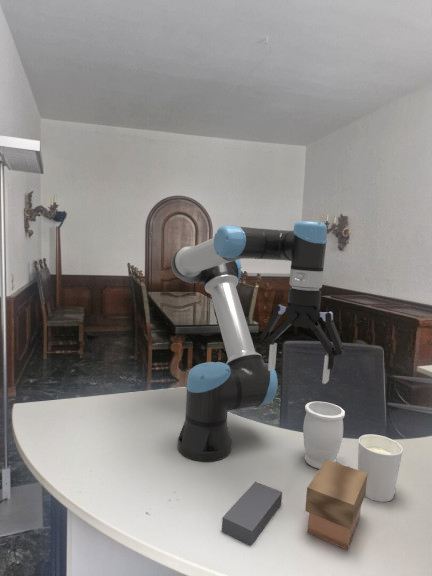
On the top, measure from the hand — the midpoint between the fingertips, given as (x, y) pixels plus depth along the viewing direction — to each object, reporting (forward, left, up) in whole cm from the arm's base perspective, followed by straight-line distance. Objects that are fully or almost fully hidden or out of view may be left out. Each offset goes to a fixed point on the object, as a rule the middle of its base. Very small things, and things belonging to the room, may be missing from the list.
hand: (297, 375), depth 96 cm
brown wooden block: (+14, -10, -22) cm, 28 cm away
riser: (-1, -18, -27) cm, 32 cm away
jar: (+4, +13, -27) cm, 30 cm away
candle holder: (+19, +8, -27) cm, 34 cm away
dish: (+14, -10, -27) cm, 32 cm away
